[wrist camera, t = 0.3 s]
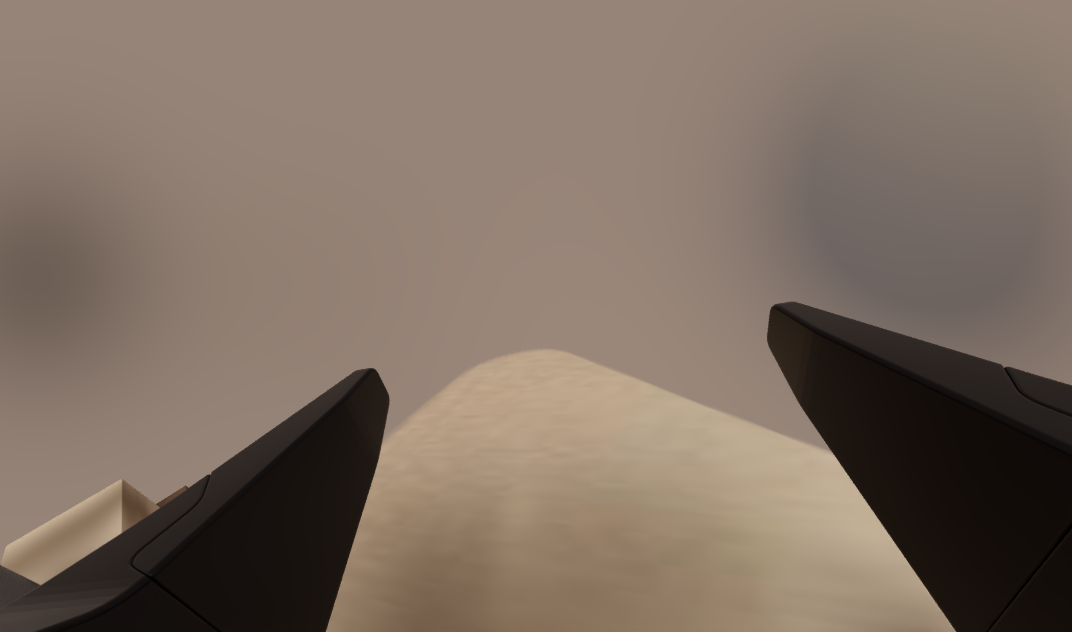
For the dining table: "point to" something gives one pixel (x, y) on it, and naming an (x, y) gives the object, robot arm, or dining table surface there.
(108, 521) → the birch block
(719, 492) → the dining table surface
